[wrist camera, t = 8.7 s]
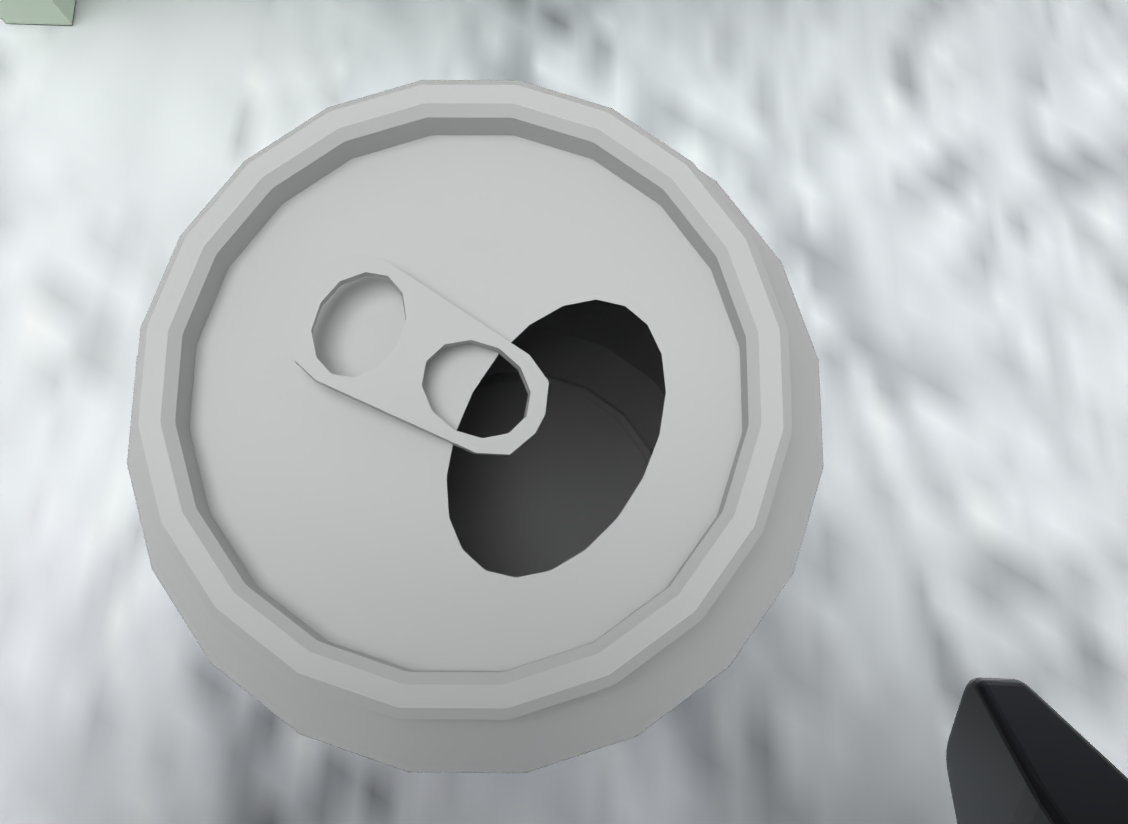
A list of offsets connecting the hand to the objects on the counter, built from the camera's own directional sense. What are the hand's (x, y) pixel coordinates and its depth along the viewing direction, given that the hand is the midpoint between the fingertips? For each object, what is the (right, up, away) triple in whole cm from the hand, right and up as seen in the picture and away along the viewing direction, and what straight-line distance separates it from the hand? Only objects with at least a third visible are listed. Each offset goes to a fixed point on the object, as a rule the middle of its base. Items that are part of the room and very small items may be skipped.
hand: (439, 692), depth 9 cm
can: (0, 0, +13) cm, 13 cm away
